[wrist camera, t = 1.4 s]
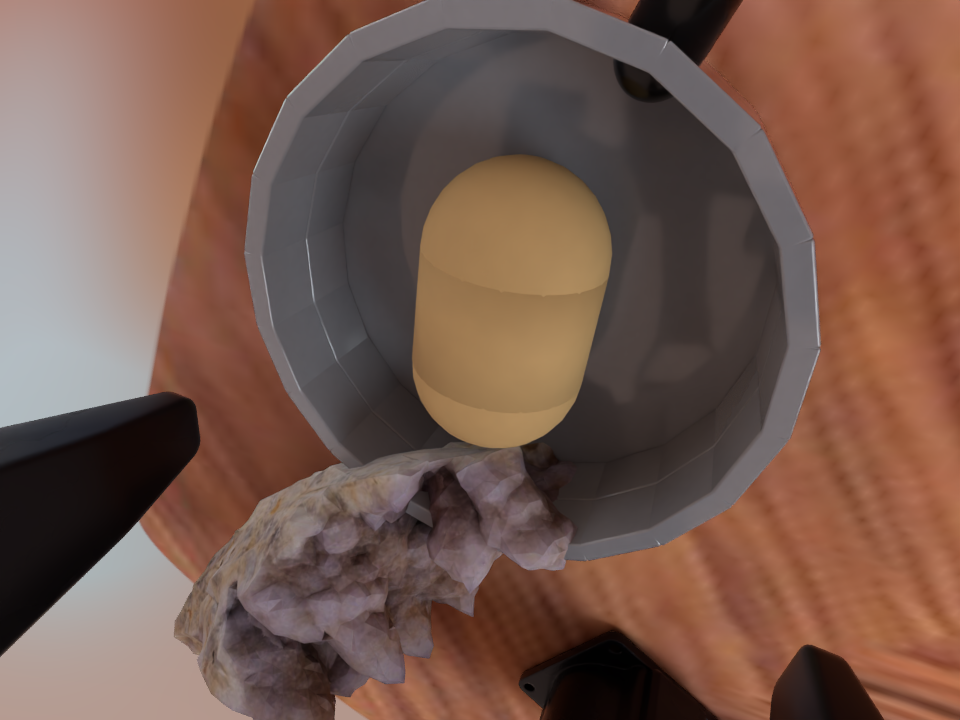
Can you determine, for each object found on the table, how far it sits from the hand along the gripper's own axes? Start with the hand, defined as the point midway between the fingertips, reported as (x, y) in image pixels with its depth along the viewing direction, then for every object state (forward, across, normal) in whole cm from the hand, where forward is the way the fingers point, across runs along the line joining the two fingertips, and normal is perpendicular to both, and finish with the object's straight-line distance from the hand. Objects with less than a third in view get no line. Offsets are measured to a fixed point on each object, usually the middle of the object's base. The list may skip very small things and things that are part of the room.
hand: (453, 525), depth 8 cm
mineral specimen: (+11, +6, +13) cm, 18 cm away
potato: (+10, +2, +1) cm, 11 cm away
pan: (+11, +2, +1) cm, 11 cm away
